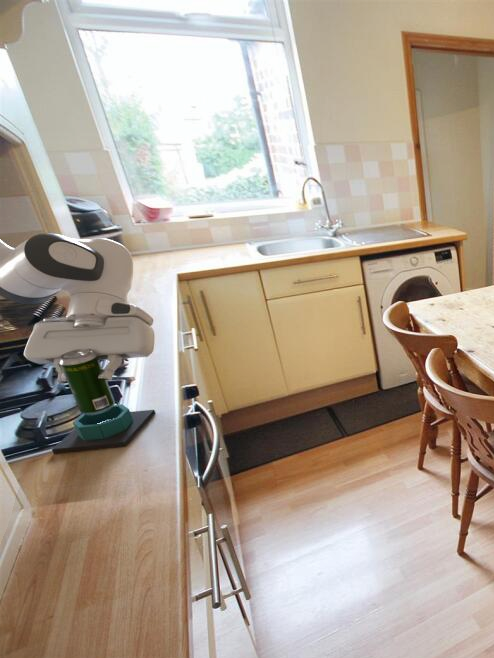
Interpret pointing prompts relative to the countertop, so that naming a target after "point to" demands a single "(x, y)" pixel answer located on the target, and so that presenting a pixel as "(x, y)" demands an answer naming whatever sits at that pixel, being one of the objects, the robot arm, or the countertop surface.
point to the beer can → (86, 381)
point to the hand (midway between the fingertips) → (85, 381)
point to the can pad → (107, 442)
